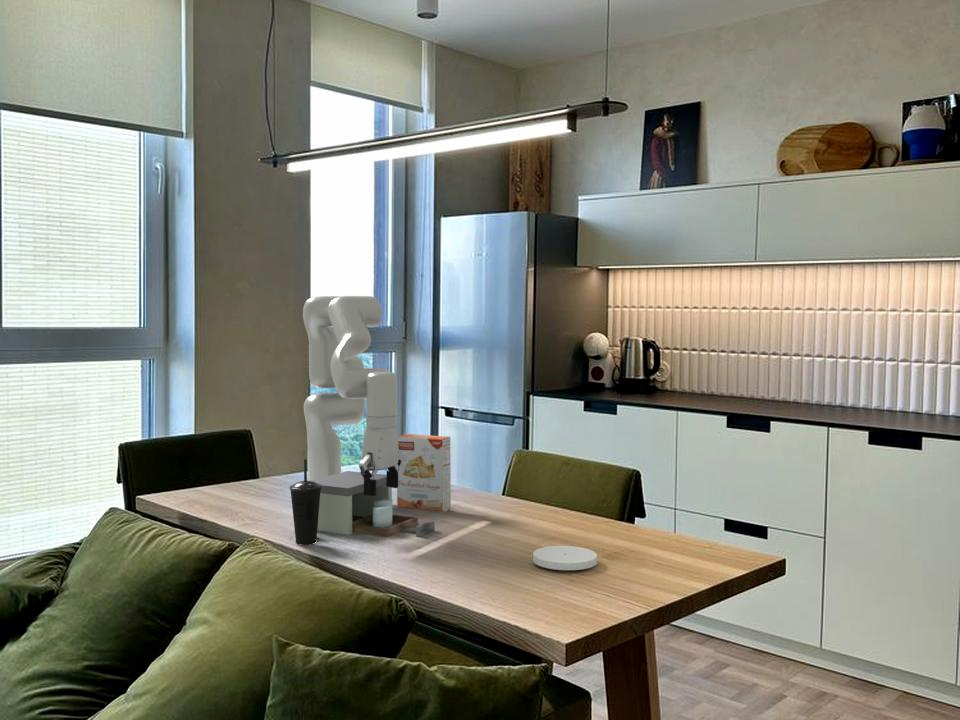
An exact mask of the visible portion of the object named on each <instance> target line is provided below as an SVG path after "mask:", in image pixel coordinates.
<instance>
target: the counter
mask: <svg viewBox="0 0 960 720" xmlns="http://www.w3.org/2000/svg"><path fill="white" fill-rule="evenodd" d="M374 479H375V480H376V496H369V495H364V479H363V478H362V474H361V471H352V470H346V471H341V473H338V474H335V475H331V476H327V477H323V478H320V479H316V480H312V481H313V482H316V483H318V484H321V485H322V488H321V491H320V504H319V516H318V529H317V532H318V531H321V532H326V533H333V534H340V535H346V536H348V535H349V536H350V535H352V534H353V532H352V522H353V516H356V517H362V518H364V517H367V516H370V515H373V507H374V505H373V501H374V500H377V499H391V500H392V501H393V495H392V494H393V493H392V490H393V488H391V487H387V486H386V474H380V473H377V474H376V476H375V478H374Z"/></svg>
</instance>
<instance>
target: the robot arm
mask: <svg viewBox="0 0 960 720" xmlns="http://www.w3.org/2000/svg"><path fill="white" fill-rule="evenodd" d="M383 314H384V313H383V308H382V305H381V303H380V302H379V300H378V299H377V298H376V297H374V296H372V295H371V296H369V295H363V296H362V295H345V296H344V295H342V296H336V295H333V296H332V295H331V296H330V295H329V296H328V295H326V296H323V295H322V296H315V297H311V298H308V299H307V300H306V301H305V303H304V305H303V309H302V318H303V323H304V327H305V331H306V333H307V338H308V343H309V344H308V374H309V375H308V377H309V381H310V384H311V385H312V387H314V388H316V389H336V392H320V393H314V394H310V395H309V396H308V397H307V398H306V399H305V401H304V403H303V415H304V419H305V426H306V427H305V428H306V441H307V481H312V480H316V479H320V478H323V477H327V476H331V475H335V474H338V473H342V441H341V439H340V437H339V435H338V434H337V432H336V431H335V430H334V429H333V427H336V426H350V425H356V424H359V423H361V422H362V421H363V419H364V416H366V418H365V419H366V420H365V424H366V425H365V426H366V427H365V429H364V432H363V439H362V449H361V461H360V462H359V463H358V466H359V467H358V468H359V470H360V472H361V474H362V478H363V479H364V495H369V496H376V480H375V479H374V478H375V476H376V474H378V472H379V471H383V470H386V469H387V471H386V474H385V475H386V486H387V487H391V488H392V489H397V488H398V472H399V470H400V468H399V466H400V464H401V459H402V455H403V453H402V452H401V451H400V450H399V443H398V436H399V433H398V376H397V375H396V374H395V372H392V371H390V370H388V369H386V368H382V367H381V368H380V367H375V368H374V367H371V368H368V367H366V368H365V365H364V363H363V360H362V359H361V358H360V357H359V356H358V355H361V354H362V353H363V352H365V351H367V350H368V348H369V347H370V346H371V343H372V337H371V336H372V335H371V334H370V330H369V328H375V327H378V326H379V325H380V324H381V323H382V320H383ZM365 406H366V407H365ZM365 408H366V409H365ZM365 411H366V414H365Z"/></svg>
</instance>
